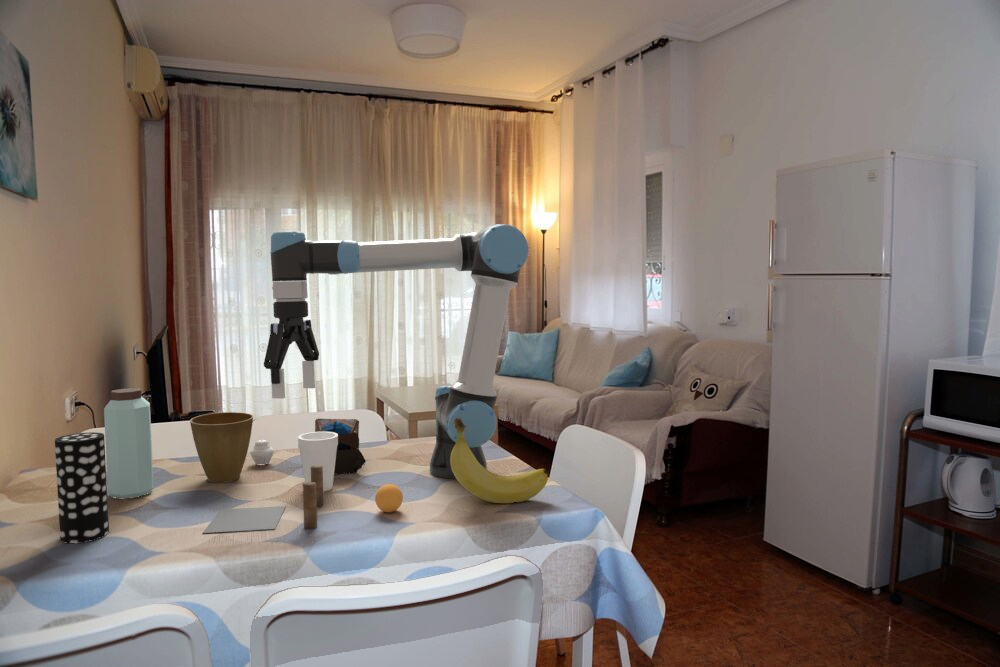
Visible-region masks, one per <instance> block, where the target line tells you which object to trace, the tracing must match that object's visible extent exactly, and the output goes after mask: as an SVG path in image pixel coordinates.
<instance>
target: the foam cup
mask: <svg viewBox="0 0 1000 667" xmlns="http://www.w3.org/2000/svg"><path fill="white" fill-rule="evenodd" d="M297 438H298V440H297V441H298V444H297V445H298V448H299V453H300V460H301V466H302V467H301V468H302V472H303V473H302V474H303V478H304V479H303V480H304V483H307V482H311V466H314V465H322V466H323V492H327V491H330V490H332V489H334V488H333V485H334V480H335V479H334V478H335V474H334V470H335V461H336V451H337V445H338V434H337V433H334V432H315V431H310V432H307V433H305V432H304V433H302V434H300V435H298V437H297Z"/></svg>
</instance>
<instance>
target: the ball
mask: <svg viewBox="0 0 1000 667" xmlns="http://www.w3.org/2000/svg"><path fill="white" fill-rule="evenodd" d="M403 499H404V495H403V492H402V490H401V489H400V487H398V486H397V485H395V484H390V483H387V484H385V485H382V486H381V487H379V488H378V489H377V491H376V493H375V496H374V500H375V505H376V507H377V508H378V509H379V510H380V511H381V512H385V513H393V512H396V511H397V510H398V509H400V507H401V505H402V503H403V501H404V500H403Z"/></svg>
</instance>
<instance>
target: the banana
mask: <svg viewBox="0 0 1000 667" xmlns="http://www.w3.org/2000/svg"><path fill="white" fill-rule="evenodd" d="M454 424H455V429H456V430H457V432H458V438H457V442H456V444H455V446H454V448H453V450H452V452H451V457H450V463H451V469H452V472H453V474H454V476H455V477H456V478H455V479H456V481H457V482H458V483H459V484H460V485H461V486H462V487H463V488H464V489H466V491H468V492H469V493H471V494H472V495H473V496H476V497H477V498H479V499H481V500H483V501H485V502H489V503H494V504H514V503H513V502H517V503H521V502H525V501H527V500H530V499H532V498H534V497H535V496H538V494H540V492H542V491H543V489H544V488H545V486H546V485H547V483H548V479H549V475H550V474H549V472H548V471H547V470H546V469H545V468H538V469H534V470H531V471H530V470H529V471H527V472H523V473H521V474H515V475H502V474H496V473H495V472H494V473H493V472H491V471H489V470H488V468H487V469H485V468H484V467H483V466H482V465H481V464H480V463H479V462H478V461H477V459H476V458H475V456H474V455H473V453H472V452H471V450H470V448H469V447H468V445H467V444H466V441H465V438H464V429H465V428H466V425H465V424H463V422H462V419H461V418H455V419H454Z"/></svg>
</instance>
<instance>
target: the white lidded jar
mask: <svg viewBox="0 0 1000 667" xmlns="http://www.w3.org/2000/svg"><path fill="white" fill-rule="evenodd" d="M254 443H255V444H254V445H253V448H252V449H251V450H250V452H249V454H250V456H251V458H252V460H253V462H254V463H255V465H256V464H266V463H269V464H270V462H271V460H272V459H273V458H272V457H273V455H274V452H275V451H274V448H273V447H272V446H271V445H270V444H269V441H268V440H266V439H259V440H257V441H255V442H254Z"/></svg>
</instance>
